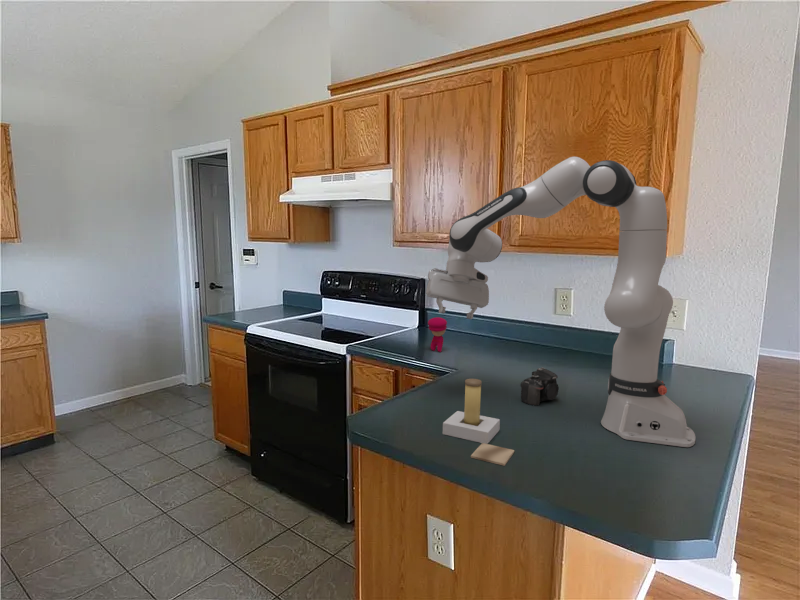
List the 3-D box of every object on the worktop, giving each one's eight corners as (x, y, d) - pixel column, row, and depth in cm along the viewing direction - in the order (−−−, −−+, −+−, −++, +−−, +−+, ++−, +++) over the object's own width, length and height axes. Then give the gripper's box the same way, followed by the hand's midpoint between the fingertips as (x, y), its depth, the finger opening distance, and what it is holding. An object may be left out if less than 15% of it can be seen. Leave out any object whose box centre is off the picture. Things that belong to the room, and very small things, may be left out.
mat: (514, 452, 116) (514, 450, 116) (504, 465, 109) (504, 463, 109) (482, 444, 120) (482, 442, 120) (470, 457, 113) (470, 455, 113)
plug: (481, 431, 128) (483, 380, 126) (476, 436, 125) (478, 384, 123) (466, 427, 130) (468, 377, 128) (460, 433, 126) (462, 381, 125)
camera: (550, 409, 145) (552, 377, 144) (517, 403, 150) (519, 371, 149) (561, 397, 156) (563, 367, 155) (531, 391, 162) (532, 362, 160)
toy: (449, 350, 216) (450, 317, 213) (440, 354, 209) (441, 320, 207) (432, 348, 220) (433, 315, 218) (423, 351, 213) (424, 317, 211)
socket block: (499, 430, 129) (499, 419, 128) (487, 444, 120) (487, 432, 120) (457, 421, 134) (457, 410, 134) (442, 433, 126) (442, 422, 125)
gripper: (433, 263, 149) (428, 307, 146) (492, 277, 155) (489, 319, 151) (425, 269, 155) (421, 311, 151) (483, 283, 161) (480, 323, 157)
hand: (455, 315), depth 151 cm, fingers open, 8 cm apart
